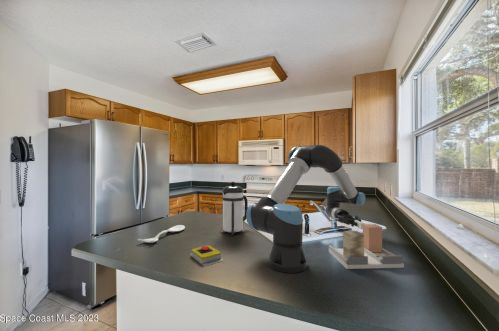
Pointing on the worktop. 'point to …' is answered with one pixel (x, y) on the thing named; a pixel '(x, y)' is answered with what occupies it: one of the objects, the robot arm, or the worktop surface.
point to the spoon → (172, 229)
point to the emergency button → (206, 255)
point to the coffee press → (233, 208)
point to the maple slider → (353, 243)
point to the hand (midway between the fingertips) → (362, 226)
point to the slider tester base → (368, 259)
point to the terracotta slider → (372, 237)
